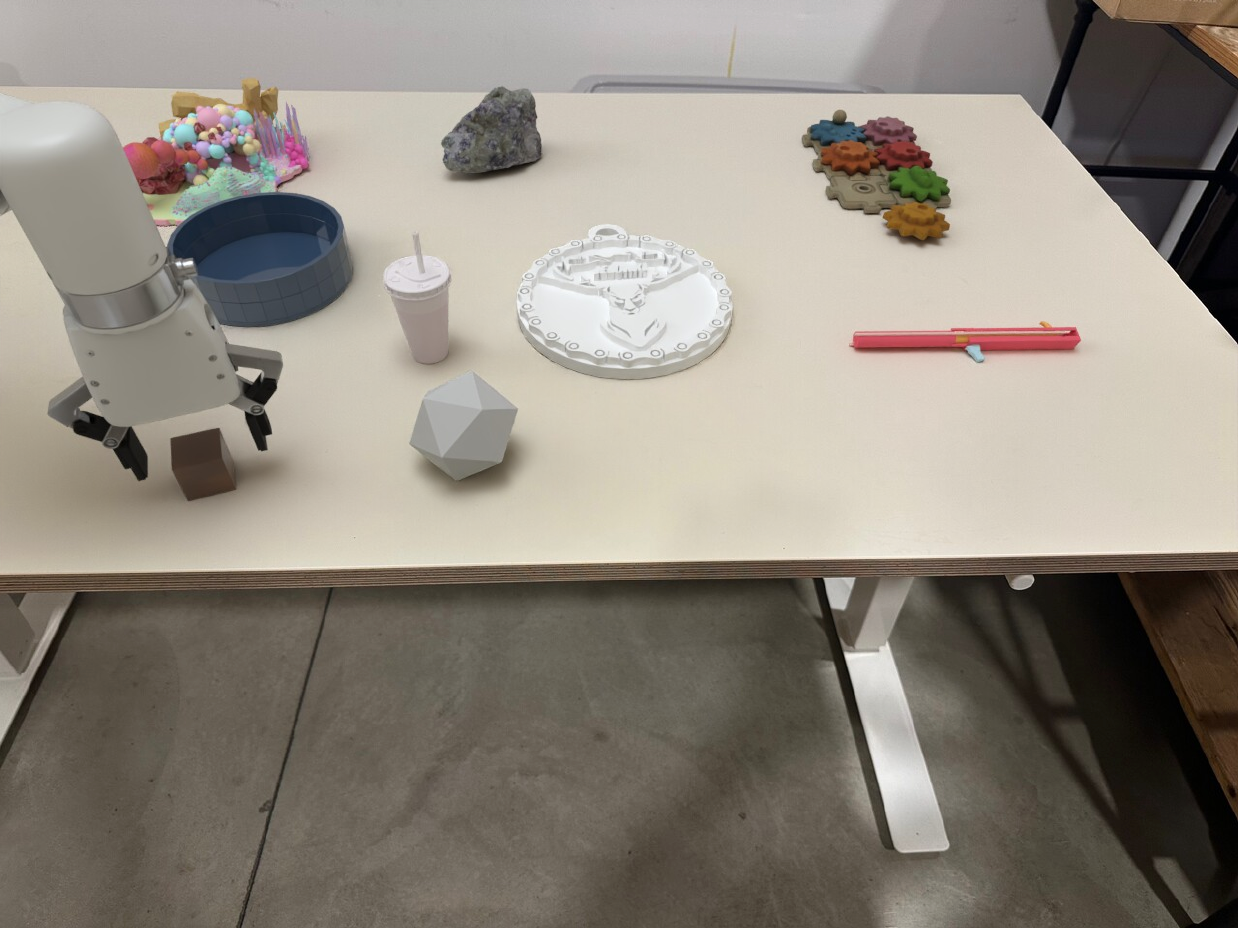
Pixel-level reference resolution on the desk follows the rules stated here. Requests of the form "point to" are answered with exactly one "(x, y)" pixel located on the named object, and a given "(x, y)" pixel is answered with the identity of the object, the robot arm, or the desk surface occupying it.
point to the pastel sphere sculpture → (216, 152)
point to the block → (202, 464)
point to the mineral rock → (495, 134)
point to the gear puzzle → (881, 172)
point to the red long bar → (974, 339)
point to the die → (463, 426)
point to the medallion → (624, 305)
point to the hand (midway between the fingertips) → (203, 454)
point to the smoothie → (421, 302)
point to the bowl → (266, 257)
